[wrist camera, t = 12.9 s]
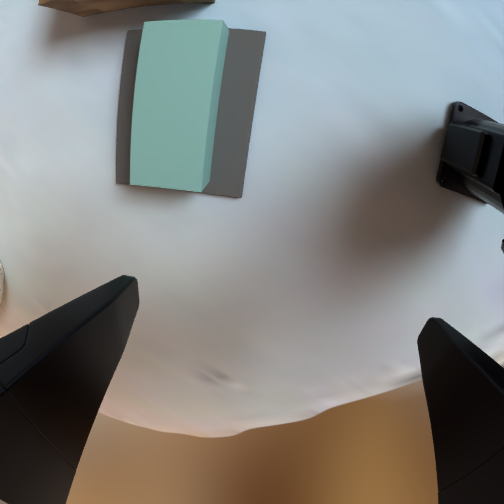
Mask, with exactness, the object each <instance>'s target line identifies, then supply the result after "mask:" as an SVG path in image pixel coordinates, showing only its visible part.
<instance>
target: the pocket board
mask: <svg viewBox="0 0 504 504" xmlns="http://www.w3.org/2000/svg"><path fill="white" fill-rule="evenodd" d="M174 3H215V0H39V4H38V5H40V6H45V7H49V8H53V9H57V10H61V11H65V12H69V13H72V14H76V15H79V16H88V15H92V14H97V13H102V12H107V11H112V10H118V9H125V8H132V7H139V6H148V5H159V4H174Z"/></svg>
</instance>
